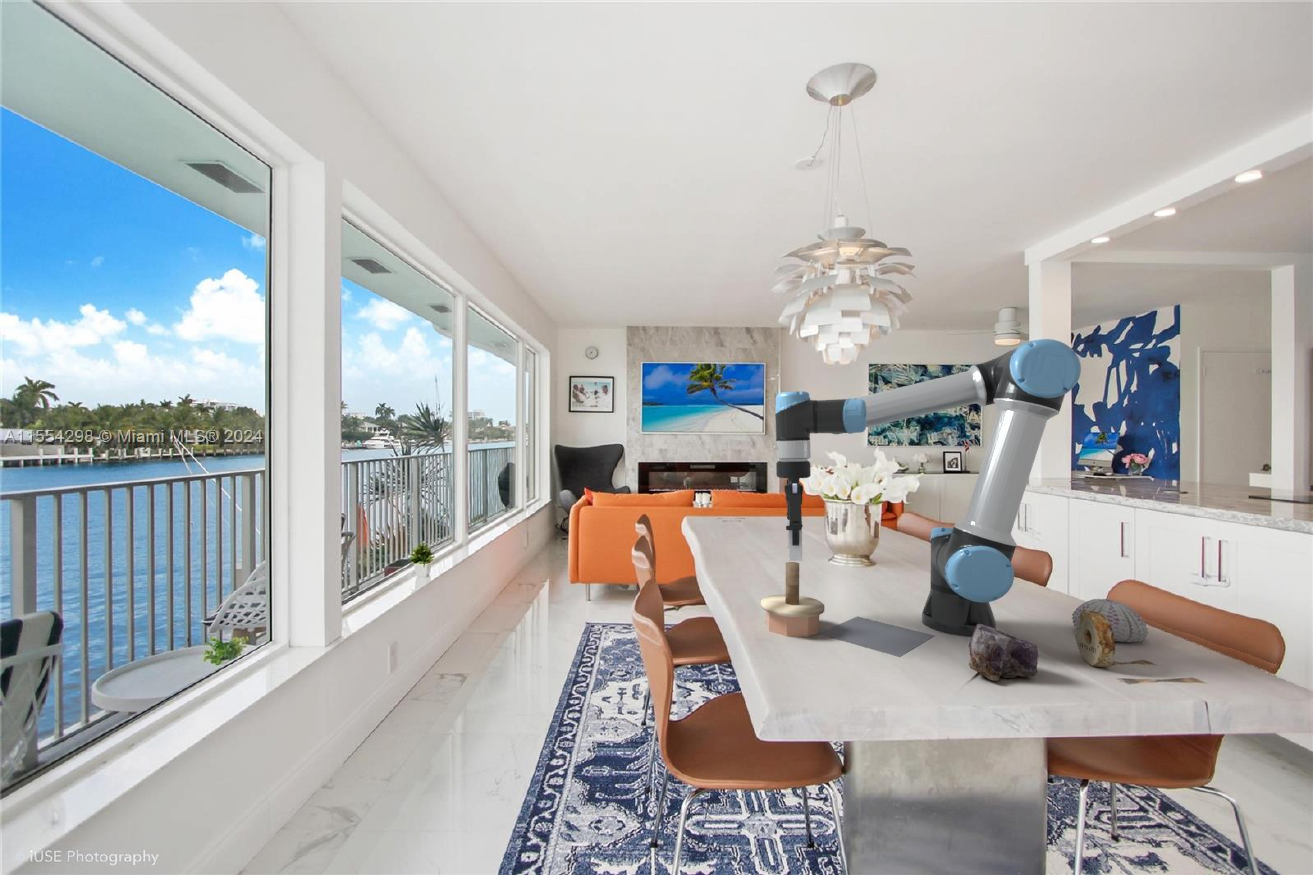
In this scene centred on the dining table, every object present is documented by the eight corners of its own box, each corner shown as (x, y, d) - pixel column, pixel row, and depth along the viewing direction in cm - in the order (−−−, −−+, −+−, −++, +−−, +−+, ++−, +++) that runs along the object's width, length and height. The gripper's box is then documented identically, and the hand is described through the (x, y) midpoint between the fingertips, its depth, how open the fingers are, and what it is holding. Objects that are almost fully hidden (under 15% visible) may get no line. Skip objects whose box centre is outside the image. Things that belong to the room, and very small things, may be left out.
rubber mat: (935, 637, 125) (935, 635, 125) (899, 658, 113) (899, 656, 113) (857, 618, 138) (857, 616, 138) (818, 635, 126) (818, 633, 126)
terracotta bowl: (826, 630, 129) (826, 608, 129) (799, 642, 122) (799, 618, 122) (785, 618, 137) (785, 597, 137) (757, 629, 130) (757, 607, 130)
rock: (1042, 692, 101) (1005, 667, 111) (1051, 644, 101) (1013, 624, 111) (978, 682, 101) (947, 658, 111) (987, 634, 101) (955, 615, 111)
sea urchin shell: (1061, 624, 135) (1062, 590, 135) (1129, 629, 132) (1130, 594, 132) (1087, 643, 122) (1087, 606, 122) (1163, 650, 119) (1163, 611, 119)
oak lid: (836, 608, 129) (836, 563, 129) (802, 621, 120) (803, 573, 120) (783, 595, 139) (783, 554, 139) (748, 607, 130) (748, 562, 130)
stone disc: (1120, 675, 106) (1120, 621, 106) (1096, 673, 107) (1096, 619, 107) (1095, 655, 116) (1095, 605, 116) (1073, 652, 117) (1074, 604, 117)
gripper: (775, 458, 142) (777, 543, 142) (776, 462, 118) (778, 565, 118) (806, 458, 141) (808, 544, 141) (814, 462, 116) (815, 566, 116)
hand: (794, 554), depth 129 cm, fingers open, 13 cm apart
